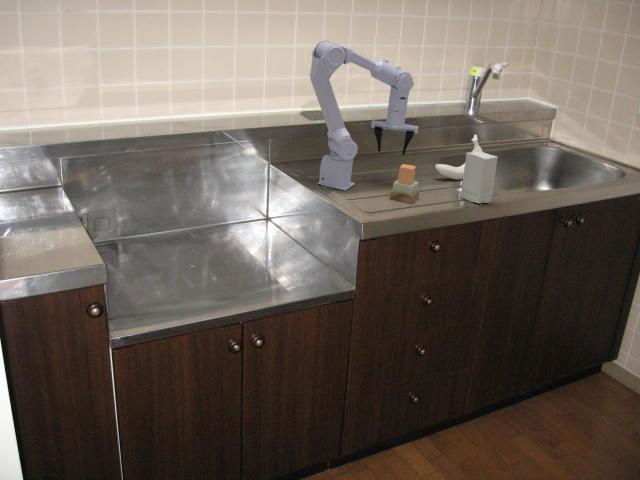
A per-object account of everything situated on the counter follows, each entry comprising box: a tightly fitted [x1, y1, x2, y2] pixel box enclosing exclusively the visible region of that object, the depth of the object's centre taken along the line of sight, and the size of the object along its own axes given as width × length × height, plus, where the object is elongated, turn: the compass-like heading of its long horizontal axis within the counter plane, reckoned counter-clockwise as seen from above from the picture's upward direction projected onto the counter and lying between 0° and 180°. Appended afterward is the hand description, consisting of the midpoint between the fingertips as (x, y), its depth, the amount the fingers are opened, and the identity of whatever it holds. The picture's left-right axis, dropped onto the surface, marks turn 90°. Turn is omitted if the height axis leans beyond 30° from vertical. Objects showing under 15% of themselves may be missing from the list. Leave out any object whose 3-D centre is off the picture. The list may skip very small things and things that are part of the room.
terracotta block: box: [397, 163, 417, 186], centre depth 212 cm, size 4×4×5 cm
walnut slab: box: [389, 189, 420, 205], centre depth 214 cm, size 7×7×3 cm
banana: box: [434, 134, 483, 181], centre depth 237 cm, size 5×19×15 cm, turn 125°
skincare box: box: [460, 151, 499, 204], centre depth 217 cm, size 8×6×15 cm
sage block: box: [391, 179, 420, 195], centre depth 213 cm, size 6×6×2 cm
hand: (391, 152), depth 223 cm, fingers open, 7 cm apart
